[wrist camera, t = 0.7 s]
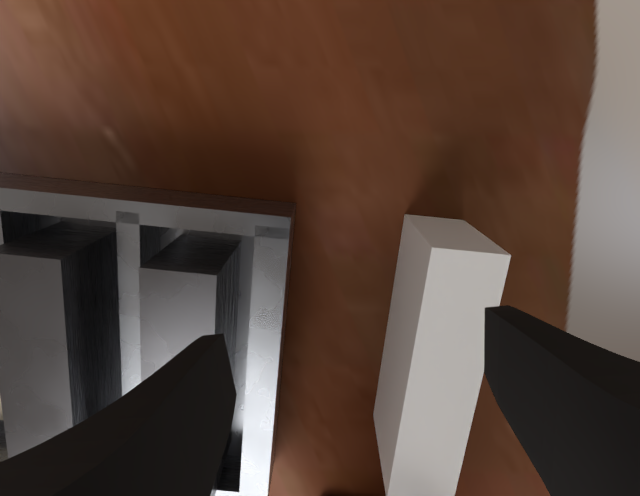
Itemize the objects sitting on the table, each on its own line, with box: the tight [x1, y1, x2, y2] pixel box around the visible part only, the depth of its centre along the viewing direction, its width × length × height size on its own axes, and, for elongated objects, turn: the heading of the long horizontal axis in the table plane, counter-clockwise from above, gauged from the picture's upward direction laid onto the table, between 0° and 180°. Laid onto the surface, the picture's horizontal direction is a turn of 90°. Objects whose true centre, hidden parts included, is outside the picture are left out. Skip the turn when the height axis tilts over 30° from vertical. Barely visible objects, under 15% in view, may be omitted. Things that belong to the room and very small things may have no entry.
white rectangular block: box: [373, 214, 511, 496], centre depth 21 cm, size 12×3×6 cm, turn 174°
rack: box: [0, 173, 296, 496], centre depth 21 cm, size 16×20×6 cm
